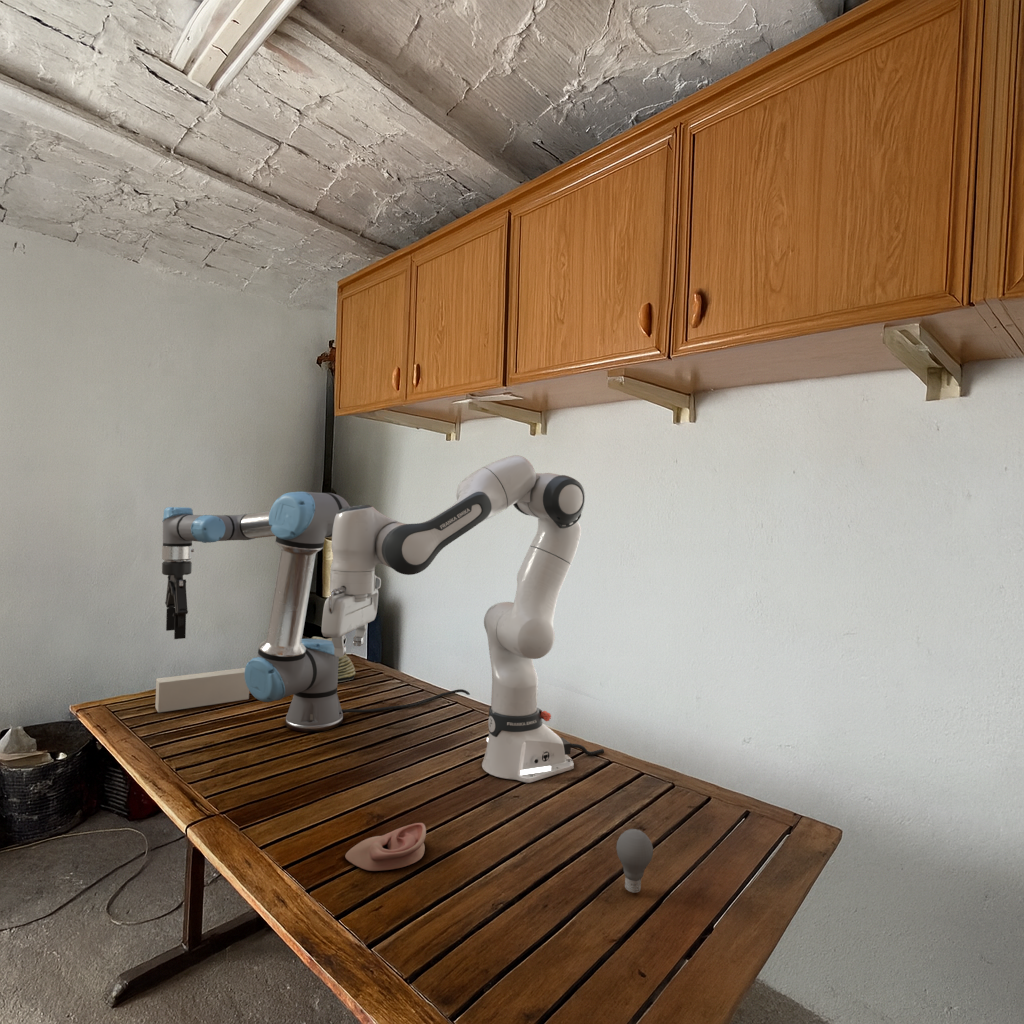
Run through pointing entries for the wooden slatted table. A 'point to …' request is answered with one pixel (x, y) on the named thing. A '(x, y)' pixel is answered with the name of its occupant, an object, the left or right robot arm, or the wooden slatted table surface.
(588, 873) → the wooden slatted table surface
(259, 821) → the wooden slatted table surface
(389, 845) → the anatomical model
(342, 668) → the fossil
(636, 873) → the light bulb
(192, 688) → the bar
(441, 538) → the right robot arm
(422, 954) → the wooden slatted table surface
